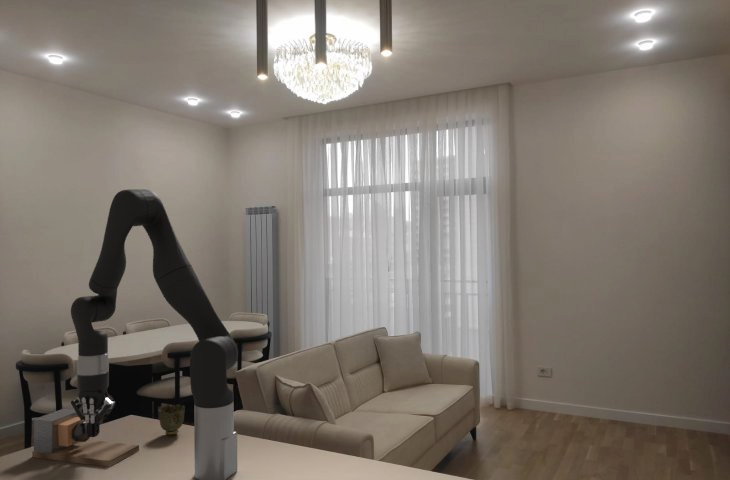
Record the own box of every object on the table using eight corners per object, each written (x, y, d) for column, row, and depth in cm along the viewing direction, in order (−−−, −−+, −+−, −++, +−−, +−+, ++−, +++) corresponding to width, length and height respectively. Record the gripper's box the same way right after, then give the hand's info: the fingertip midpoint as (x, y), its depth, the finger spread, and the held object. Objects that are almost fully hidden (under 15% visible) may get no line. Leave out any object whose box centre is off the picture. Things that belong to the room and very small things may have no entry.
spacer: (85, 438, 147) (84, 417, 147) (67, 446, 142) (67, 425, 141) (76, 437, 148) (75, 416, 148) (58, 445, 142) (58, 424, 142)
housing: (81, 440, 150) (81, 409, 150) (52, 453, 140) (52, 421, 140) (64, 438, 152) (64, 408, 152) (33, 451, 142) (33, 419, 142)
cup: (176, 440, 154) (176, 412, 154) (153, 438, 155) (153, 410, 155) (189, 431, 161) (189, 404, 161) (167, 429, 163) (167, 403, 163)
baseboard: (139, 450, 146) (139, 445, 146) (109, 466, 135) (109, 460, 135) (65, 442, 153) (65, 437, 153) (32, 457, 142) (32, 451, 142)
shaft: (92, 438, 146) (92, 419, 146) (78, 444, 141) (78, 425, 141) (56, 434, 149) (56, 416, 149) (41, 440, 144) (41, 421, 144)
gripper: (61, 372, 141) (61, 438, 141) (103, 375, 138) (103, 443, 137) (83, 366, 148) (83, 429, 148) (124, 369, 145) (124, 433, 145)
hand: (93, 436), depth 143 cm, fingers closed
